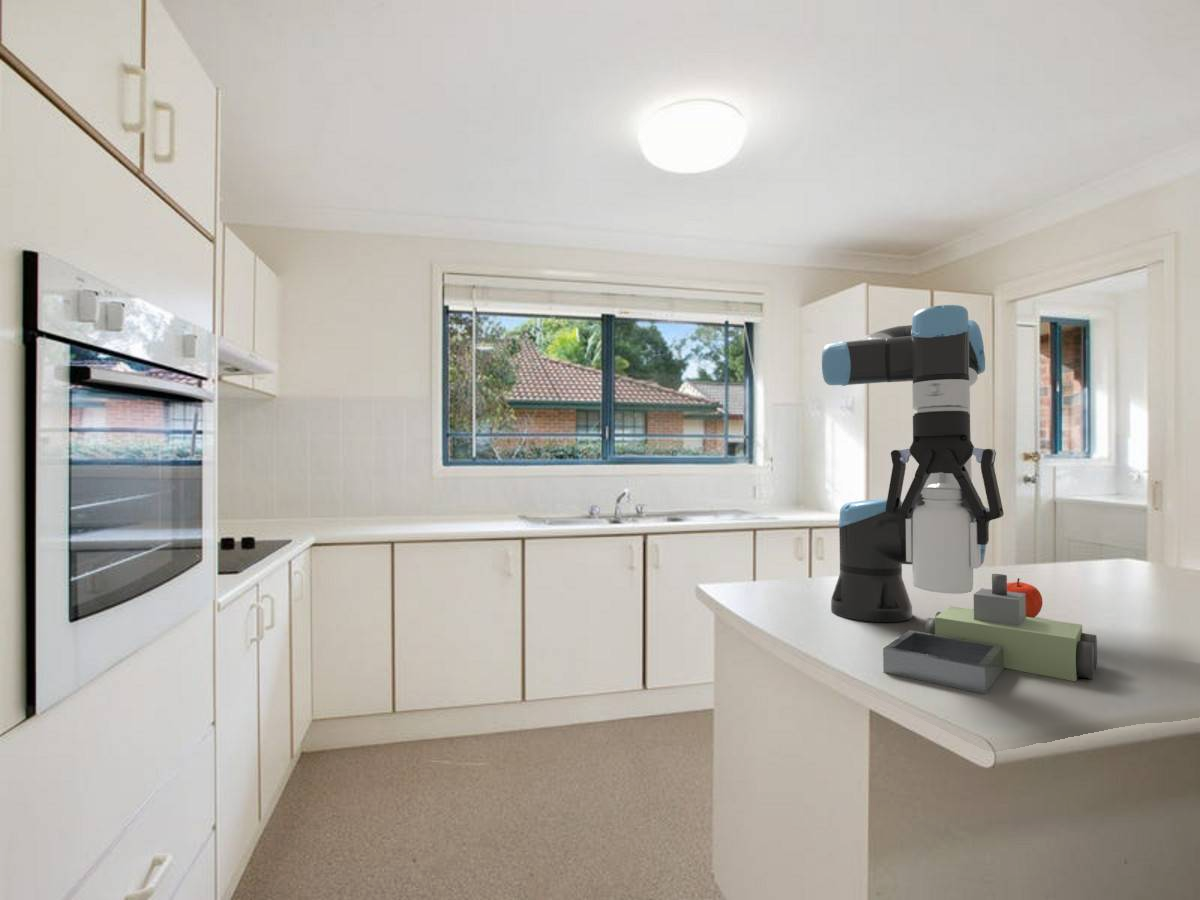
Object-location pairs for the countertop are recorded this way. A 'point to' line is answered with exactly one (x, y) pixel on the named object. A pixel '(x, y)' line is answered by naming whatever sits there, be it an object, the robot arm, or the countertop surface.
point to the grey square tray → (944, 660)
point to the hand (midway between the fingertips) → (942, 563)
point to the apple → (1028, 597)
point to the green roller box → (1020, 634)
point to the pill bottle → (942, 542)
